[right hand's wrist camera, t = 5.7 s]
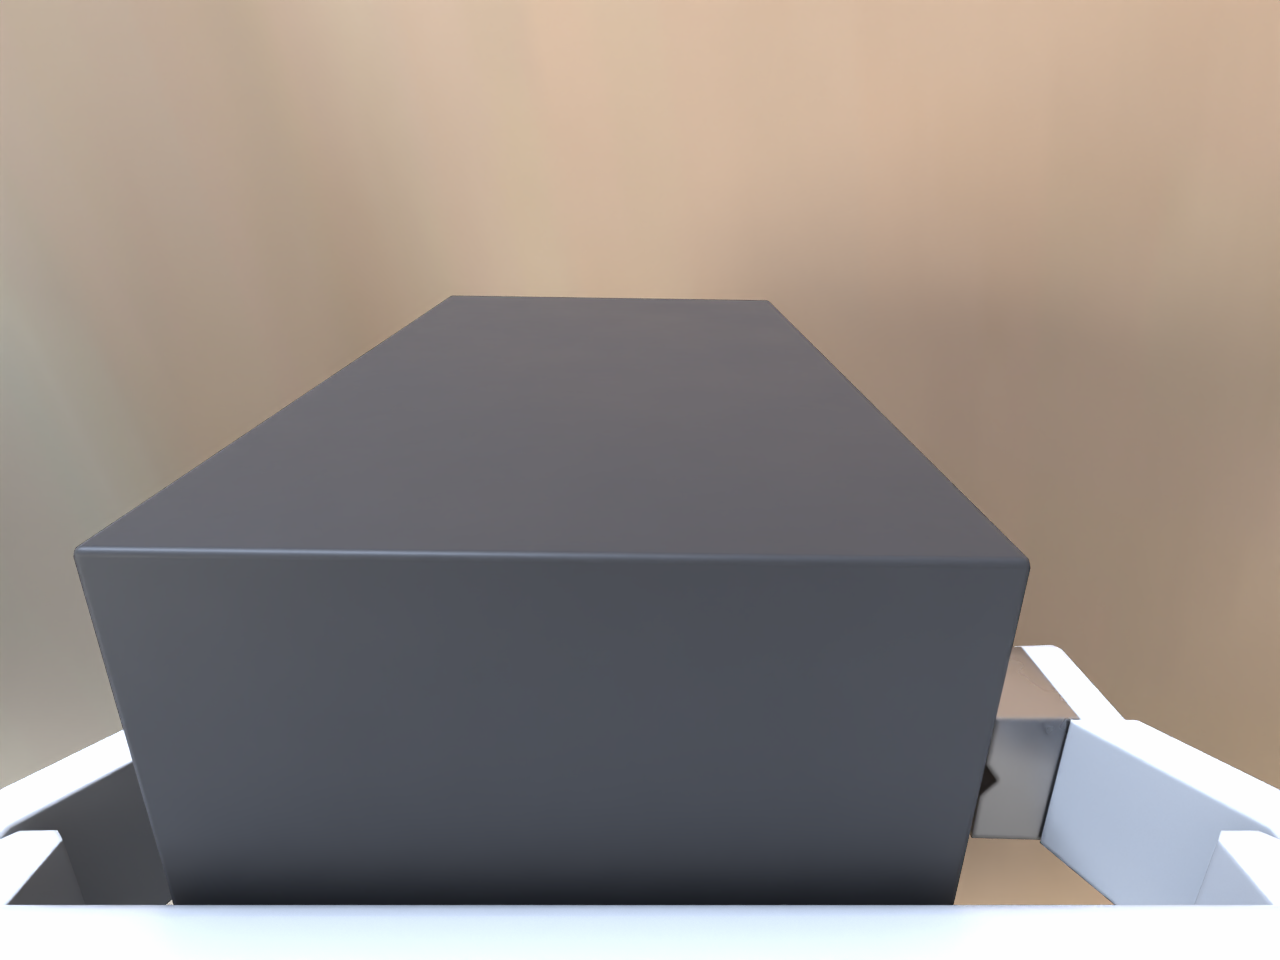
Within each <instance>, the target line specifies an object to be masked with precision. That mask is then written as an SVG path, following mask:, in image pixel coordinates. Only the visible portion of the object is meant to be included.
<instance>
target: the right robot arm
mask: <svg viewBox="0 0 1280 960" xmlns="http://www.w3.org/2000/svg"><path fill="white" fill-rule="evenodd" d="M970 835H971V837H972V838H997V839H1033V840H1041V841H1040V843H1041V844H1042V845H1043V846H1044V847H1046V848H1047V849H1048V850H1049V851H1050V852H1052V853H1053V854H1054V855H1055V856H1056V857H1058V858H1059V859H1060V860H1061V861H1063V862H1064V863H1065V864H1066V865H1067V866H1069V867H1070V868H1071V869H1072V870H1073V871H1075V872H1076V873H1077V874H1078V875H1079V876H1081V877H1082V878H1083V879H1084V880H1085V881H1087V882H1088V883H1089V884H1090V885H1091V886H1093V887H1094V888H1095V889H1096V890H1098V891H1099V892H1100V893H1101V894H1102V895H1104V896H1105V897H1106V898H1107V899H1108V900H1110V901H1111V902H1112V903H1113V904H1114V905H166V904H167V903H168V902H169V901H171V900H172V897H171V894H170V890H169V887H168V883H167V880H166V876H165V873H164V869H163V866H162V862H161V859H160V855H159V852H158V848H157V845H156V841H155V838H154V834H153V831H152V828H151V824H150V821H149V817H148V814H147V810H146V807H145V803H144V800H143V796H142V793H141V789H140V786H139V782H138V779H137V775H136V772H135V768H134V765H133V761H132V758H131V755H130V751H129V748H128V744H127V741H126V737H125V734H124V730H121V731H119V732H117V733H115V734H113V735H111V736H109V737H107V738H105V739H103V740H101V741H99V742H97V743H95V744H93V745H91V746H89V747H87V748H85V749H83V750H80V751H78V752H76V753H74V754H72V755H70V756H68V757H66V758H64V759H62V760H60V761H58V762H56V763H54V764H52V765H50V766H48V767H46V768H44V769H42V770H40V771H37V772H35V773H33V774H31V775H29V776H27V777H25V778H23V779H21V780H19V781H17V782H15V783H13V784H11V785H9V786H7V787H5V788H3V789H1V790H0V960H1280V790H1279V789H1277V788H1275V787H1273V786H1271V785H1269V784H1267V783H1265V782H1263V781H1261V780H1259V779H1257V778H1254V777H1252V776H1250V775H1248V774H1246V773H1244V772H1242V771H1240V770H1238V769H1236V768H1234V767H1232V766H1230V765H1228V764H1226V763H1224V762H1222V761H1220V760H1218V759H1216V758H1214V757H1212V756H1210V755H1208V754H1205V753H1203V752H1201V751H1199V750H1197V749H1195V748H1193V747H1191V746H1189V745H1187V744H1185V743H1183V742H1181V741H1179V740H1177V739H1175V738H1173V737H1171V736H1169V735H1167V734H1165V733H1163V732H1161V731H1159V730H1156V729H1154V728H1152V727H1150V726H1148V725H1146V724H1144V723H1142V722H1140V721H1138V720H1125V719H1124V718H1123V717H1122V716H1121V715H1120V714H1119V713H1118V712H1117V710H1116V709H1115V708H1114V707H1113V706H1112V705H1111V704H1110V703H1109V702H1108V700H1107V699H1106V698H1105V697H1104V696H1103V695H1102V694H1101V693H1100V691H1099V690H1098V689H1097V688H1096V687H1095V686H1094V685H1093V684H1092V683H1091V681H1090V680H1089V679H1088V678H1087V677H1086V676H1085V675H1084V674H1083V673H1082V671H1081V670H1080V669H1079V668H1078V667H1077V666H1076V665H1075V664H1074V663H1073V661H1072V660H1071V659H1070V658H1069V657H1068V656H1067V655H1066V654H1065V653H1064V651H1063V650H1062V649H1060V648H1058V647H1056V646H1053V645H1035V646H1015V647H1012V650H1011V655H1010V659H1009V663H1008V668H1007V672H1006V677H1005V681H1004V685H1003V690H1002V694H1001V698H1000V703H999V707H998V712H997V716H996V720H995V725H994V729H993V733H992V738H991V742H990V747H989V751H988V755H987V760H986V764H985V768H984V773H983V777H982V782H981V786H980V790H979V795H978V799H977V804H976V808H975V812H974V817H973V821H972V825H971V830H970Z"/></svg>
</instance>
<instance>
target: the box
mask: <svg viewBox="0 0 1280 960" xmlns="http://www.w3.org/2000/svg"><path fill="white" fill-rule="evenodd" d="M74 560H75V563H76V567H77V570H78V574H79V577H80V581H81V584H82V588H83V591H84V595H85V598H86V602H87V605H88V608H89V612H90V615H91V619H92V622H93V626H94V629H95V633H96V636H97V640H98V643H99V647H100V650H101V654H102V657H103V661H104V664H105V668H106V671H107V675H108V678H109V682H110V685H111V688H112V692H113V695H114V699H115V702H116V706H117V709H118V713H119V716H120V720H121V723H122V727H123V730H124V734H125V737H126V741H127V744H128V748H129V751H130V755H131V758H132V761H133V765H134V768H135V772H136V775H137V779H138V782H139V786H140V789H141V793H142V796H143V800H144V803H145V807H146V810H147V814H148V817H149V821H150V824H151V828H152V831H153V834H154V838H155V841H156V845H157V848H158V852H159V855H160V859H161V862H162V866H163V869H164V873H165V876H166V880H167V883H168V887H169V890H170V894H171V897H172V901H173V904H174V905H953V904H954V900H955V895H956V891H957V887H958V882H959V878H960V874H961V869H962V865H963V860H964V856H965V852H966V847H967V843H968V839H969V834H970V830H971V825H972V821H973V817H974V812H975V808H976V804H977V799H978V795H979V790H980V786H981V782H982V777H983V773H984V768H985V764H986V760H987V755H988V751H989V747H990V742H991V738H992V733H993V729H994V725H995V720H996V716H997V712H998V707H999V703H1000V698H1001V694H1002V690H1003V685H1004V681H1005V677H1006V672H1007V668H1008V663H1009V659H1010V655H1011V650H1012V646H1013V642H1014V637H1015V633H1016V628H1017V624H1018V620H1019V615H1020V611H1021V607H1022V602H1023V598H1024V593H1025V589H1026V585H1027V580H1028V576H1029V571H1030V562H1029V559H1028V558H1027V557H1026V556H1025V555H1024V554H1023V553H1022V552H1021V551H1020V550H1019V549H1018V548H1017V547H1016V546H1015V545H1014V544H1013V543H1012V542H1011V541H1010V540H1009V539H1008V538H1007V537H1006V536H1005V535H1004V534H1003V533H1002V532H1001V531H1000V530H999V529H998V528H997V527H996V526H995V525H994V524H993V523H992V522H991V521H990V520H989V519H988V518H987V517H986V516H985V515H984V514H983V513H982V512H981V511H980V510H979V509H978V508H977V507H976V506H975V505H974V504H973V503H972V502H971V501H970V500H969V499H968V498H967V497H966V496H965V495H964V494H963V493H962V492H961V491H960V490H959V489H958V488H957V487H955V486H954V485H953V484H952V483H951V482H950V481H949V480H948V479H947V478H946V477H945V476H944V475H943V474H942V473H941V472H940V471H939V470H938V469H937V468H936V467H935V466H934V465H933V464H932V463H931V462H930V461H929V460H928V459H927V458H926V457H925V456H924V455H923V454H922V453H921V452H920V451H919V450H918V449H917V448H916V447H915V446H914V445H913V444H912V443H911V442H910V441H909V440H908V439H907V438H906V437H905V436H904V435H903V434H902V433H901V432H900V431H899V430H898V429H897V428H896V427H895V426H894V425H893V424H892V423H891V422H890V421H889V420H888V419H887V418H886V417H885V416H884V415H883V414H882V413H881V412H880V411H879V410H878V409H877V408H876V407H875V406H874V405H873V404H872V403H871V402H870V401H869V400H868V399H867V398H866V397H865V396H864V395H863V394H862V393H861V392H860V391H859V390H858V389H857V388H856V387H855V386H854V385H853V384H852V383H851V382H850V381H849V380H848V379H847V378H846V377H845V376H844V375H843V374H842V373H841V372H840V371H839V370H838V369H837V368H836V367H835V366H834V365H833V364H832V363H831V362H830V361H829V360H828V359H826V358H825V357H824V356H823V355H822V354H821V353H820V352H819V351H818V350H817V349H816V348H815V347H814V346H813V345H812V344H811V343H810V342H809V341H808V340H807V339H806V338H805V337H804V336H803V335H802V334H801V333H800V332H799V331H798V330H797V329H796V328H795V327H794V326H793V325H792V324H791V323H790V322H789V321H788V320H787V319H786V318H785V317H784V316H783V315H782V314H781V313H780V312H779V311H778V310H777V309H776V308H775V307H774V306H773V305H772V304H771V303H770V302H769V301H767V300H705V299H639V298H572V297H505V296H450V297H449V298H447V299H446V300H444V301H443V302H441V303H440V304H438V305H437V306H435V307H434V308H432V309H431V310H429V311H428V312H426V313H425V314H423V315H422V316H421V317H419V318H418V319H416V320H415V321H413V322H412V323H410V324H409V325H407V326H406V327H404V328H403V329H401V330H400V331H398V332H397V333H395V334H394V335H392V336H391V337H389V338H388V339H386V340H385V341H383V342H382V343H380V344H379V345H377V346H376V347H374V348H373V349H371V350H370V351H368V352H367V353H365V354H364V355H362V356H361V357H359V358H358V359H356V360H355V361H353V362H352V363H350V364H349V365H347V366H346V367H344V368H343V369H341V370H340V371H338V372H337V373H336V374H334V375H333V376H331V377H330V378H328V379H327V380H325V381H324V382H322V383H321V384H319V385H318V386H316V387H315V388H313V389H312V390H310V391H309V392H307V393H306V394H304V395H303V396H301V397H300V398H298V399H297V400H295V401H294V402H292V403H291V404H289V405H288V406H286V407H285V408H283V409H282V410H280V411H279V412H277V413H276V414H274V415H273V416H271V417H270V418H268V419H267V420H265V421H264V422H262V423H261V424H259V425H258V426H256V427H255V428H254V429H252V430H251V431H249V432H248V433H246V434H245V435H243V436H242V437H240V438H239V439H237V440H236V441H234V442H233V443H231V444H230V445H228V446H227V447H225V448H224V449H222V450H221V451H219V452H218V453H216V454H215V455H213V456H212V457H210V458H209V459H207V460H206V461H204V462H203V463H201V464H200V465H198V466H197V467H195V468H194V469H192V470H191V471H189V472H188V473H186V474H185V475H183V476H182V477H180V478H179V479H177V480H176V481H174V482H173V483H172V484H170V485H169V486H167V487H166V488H164V489H163V490H161V491H160V492H158V493H157V494H155V495H154V496H152V497H151V498H149V499H148V500H146V501H145V502H143V503H142V504H140V505H139V506H137V507H136V508H134V509H133V510H131V511H130V512H128V513H127V514H125V515H124V516H122V517H121V518H119V519H118V520H116V521H115V522H113V523H112V524H110V525H109V526H107V527H106V528H104V529H103V530H101V531H100V532H98V533H97V534H95V535H94V536H92V537H91V538H90V539H88V540H87V541H85V542H84V543H82V544H81V545H79V546H78V547H76V549H75V551H74Z"/></svg>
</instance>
